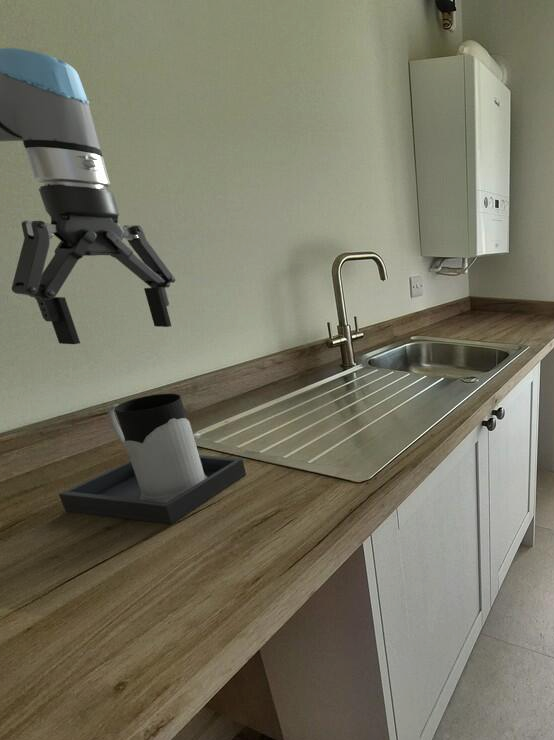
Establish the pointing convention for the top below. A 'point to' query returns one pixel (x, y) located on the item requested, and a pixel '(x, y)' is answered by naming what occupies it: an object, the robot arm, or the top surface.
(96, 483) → the tray
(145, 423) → the black and white mug
